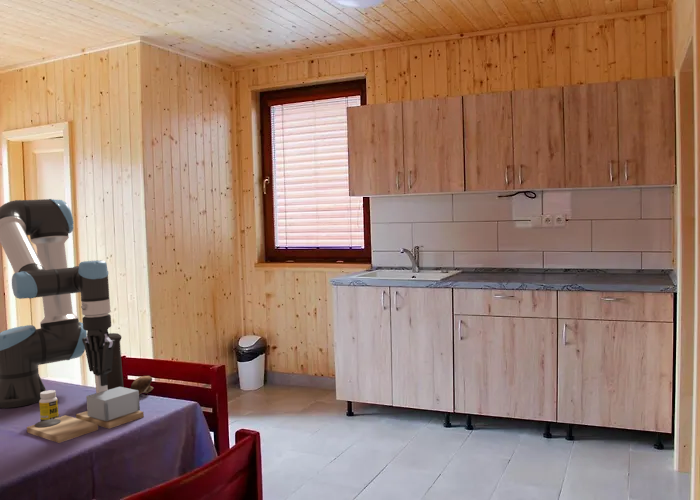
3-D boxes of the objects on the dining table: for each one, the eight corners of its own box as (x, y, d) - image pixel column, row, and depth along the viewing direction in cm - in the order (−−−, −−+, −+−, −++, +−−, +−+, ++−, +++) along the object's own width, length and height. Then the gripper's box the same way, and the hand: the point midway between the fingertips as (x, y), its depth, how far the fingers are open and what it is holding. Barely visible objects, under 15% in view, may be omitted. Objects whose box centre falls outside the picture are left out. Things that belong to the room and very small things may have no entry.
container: (115, 390, 209) (111, 330, 207) (130, 394, 203) (126, 332, 202) (91, 396, 202) (86, 335, 201) (105, 401, 196) (101, 337, 195)
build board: (25, 432, 170) (25, 425, 170) (64, 420, 179) (64, 414, 179) (58, 443, 160) (58, 436, 160) (98, 429, 169) (97, 423, 169)
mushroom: (162, 380, 206) (149, 367, 204) (153, 396, 199) (140, 382, 197) (145, 390, 208) (132, 377, 206) (136, 406, 201) (122, 393, 199)
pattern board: (76, 419, 179) (75, 403, 179) (110, 408, 188) (109, 393, 188) (109, 428, 170) (107, 412, 169) (143, 416, 178) (142, 401, 178)
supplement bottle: (51, 423, 176) (49, 394, 176) (36, 423, 177) (34, 394, 177) (62, 418, 181) (60, 389, 180) (48, 418, 182) (46, 389, 181)
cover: (87, 416, 176) (86, 396, 175) (121, 405, 184) (119, 386, 184) (106, 421, 170) (105, 400, 170) (139, 410, 179) (138, 390, 179)
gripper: (71, 315, 179) (77, 396, 181) (97, 318, 172) (103, 403, 173) (95, 311, 186) (101, 390, 187) (121, 314, 178) (127, 396, 179)
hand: (102, 396), depth 180 cm, fingers closed
